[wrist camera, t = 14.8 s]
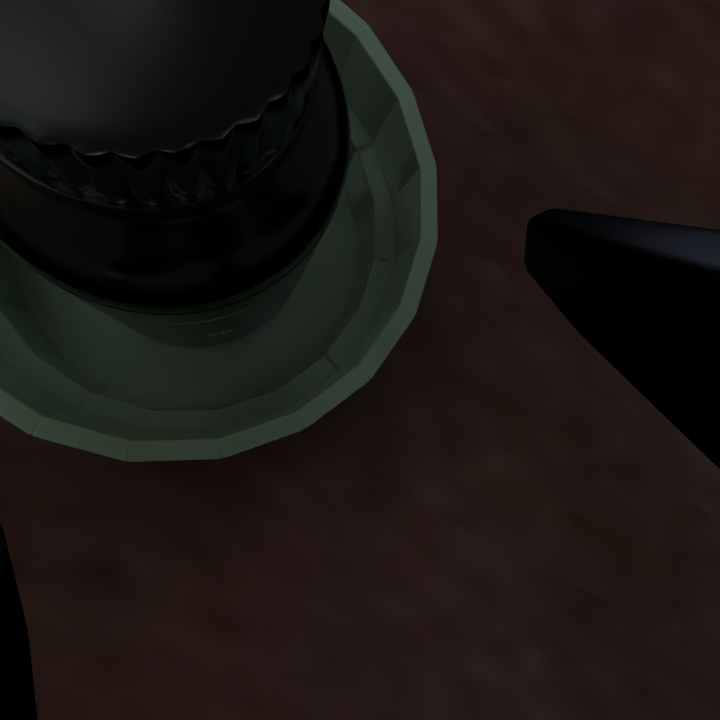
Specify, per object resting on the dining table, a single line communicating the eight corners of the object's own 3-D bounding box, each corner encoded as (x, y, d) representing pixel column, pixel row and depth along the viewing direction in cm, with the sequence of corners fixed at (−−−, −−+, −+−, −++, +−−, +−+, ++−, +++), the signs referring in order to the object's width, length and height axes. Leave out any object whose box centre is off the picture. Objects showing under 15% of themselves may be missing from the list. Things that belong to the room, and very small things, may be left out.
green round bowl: (384, 434, 19) (441, 451, 13) (-29, 445, 16) (-167, 472, 10) (381, 84, 19) (434, -31, 14) (-14, 33, 17) (-134, -137, 11)
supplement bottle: (85, 351, 16) (-314, 247, 5) (84, 136, 17) (-286, -469, 5) (304, 347, 18) (427, 264, 6) (299, 152, 18) (406, -282, 6)
